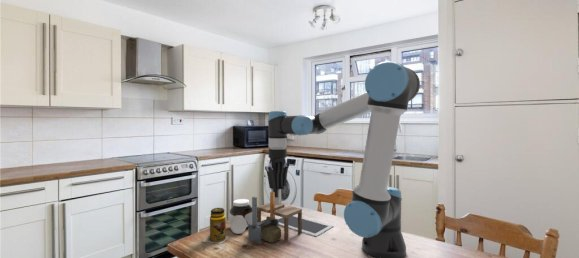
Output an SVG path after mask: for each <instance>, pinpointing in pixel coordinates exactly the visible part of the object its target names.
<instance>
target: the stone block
mask: <svg viewBox="0 0 579 258" xmlns="http://www.w3.org/2000/svg"><path fill="white" fill-rule="evenodd" d="M281 239H282V230H281V227H280V226H279V227H276V226H274V225H271V224H267V225H265V226H262V227H261V241H262V240H263V241H266V242H268V243H275V242H277V241H280V240H281Z"/></svg>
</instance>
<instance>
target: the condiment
mask: <svg viewBox="0 0 579 258" xmlns="http://www.w3.org/2000/svg"><path fill="white" fill-rule="evenodd" d="M225 214H226V213H225V209H224V208H223V207H215V208H212V209H211V210H210V216H209V234H208V235H207V236H206V237H205V238H204V239H203V240H202V241H201V242H202V243H210V244H223V243H224V242H226V240H227V239H228V238H229V236H230V235H229V234H228V235H227V234H226V229H227V228H226V227H227V226H226V225H227V223H226V218H227V217H226V215H225Z"/></svg>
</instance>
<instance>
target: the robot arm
mask: <svg viewBox="0 0 579 258" xmlns="http://www.w3.org/2000/svg"><path fill="white" fill-rule="evenodd" d="M364 81H365V82H364V88H365V92H363V93H361V94H359V95H356V96H355V97H352V98H350V99H348V100H346V101H345V100H344V101H343V102H341V103H338V104H337V105H334V106H332V107H330V108H328V109H325V110H324V111H322V112H319V113H317V114H314V115H305V114H304V115H300V114H299V115H287V111H284V110H275V111H274V110H272V111H270V112H269V113H268V120H267V122H268V123H267V124H268V125H267V126H268V158H269V162H268V165H266V166H265V167H264V170H265V171H266V175H267V180H268V186H269V189H271V190H273V191H272V192H275V204H276V205H281V204H282V195H283V190H284V189H285V187H286V184H287V178H288V170H289V167H290V162H289V163H287V161H286V158H287V145H288V142H287V138H288V137H287V135H294V136H308V135H314V134H315V135H319V134H323V133H325V132H326V131H327V130H328V129H331V128H334V127H336V126H339V125H341V124H344V123H346V122H349V121H351V120H354V119H357V118H359V117H362V116H364V115H368V114H370V117H369V123H368V128H367V134H366V135H367V136H366V141H365V146H364V153H363V160H362V165H361V171H360V177H359V184H358V185H356V186H354V188H353V189H352V196H351V201H349V202H348V203H347V204H346V205H345V208H344V211H343V219H344V222H345V225H347V227H348V228H349V230H350V231H351V232H352V233H353V234H355V235H357V236H358V237H360V238H362V241H361V247H362V248H361V249H362V250H363V251H364V253H366V254H368V255H369V256H372V257H374V258H405V257H406V255H407V246H406V242H405V238H404V236H403V233H402V200H403V198H402V192H401V190H400V189H399V188H396V187H392V186H389V180H390V175H391V174H390V173H391V170H392V164H393V159H394V153H395V148H396V143H397V136H398V130H399V125H400V120H401V116H402V115H403V114H404V113H406V112H407V111H408V105H409V102H411V101H412V100H414V98H415V97H416V96H417V95H418V93H419V91H420V88H421V82H420V78H419V76H418V74H417V72H415V71H414V70H413V69H411V68H408V67H407V66H404V65H403V64H402V63H401V62H394V61H383V62H380V63H377V64H376V65H374V66H373V67H372V68H370V70H369V71H368V73H367V74H366V77H365V80H364Z"/></svg>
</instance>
